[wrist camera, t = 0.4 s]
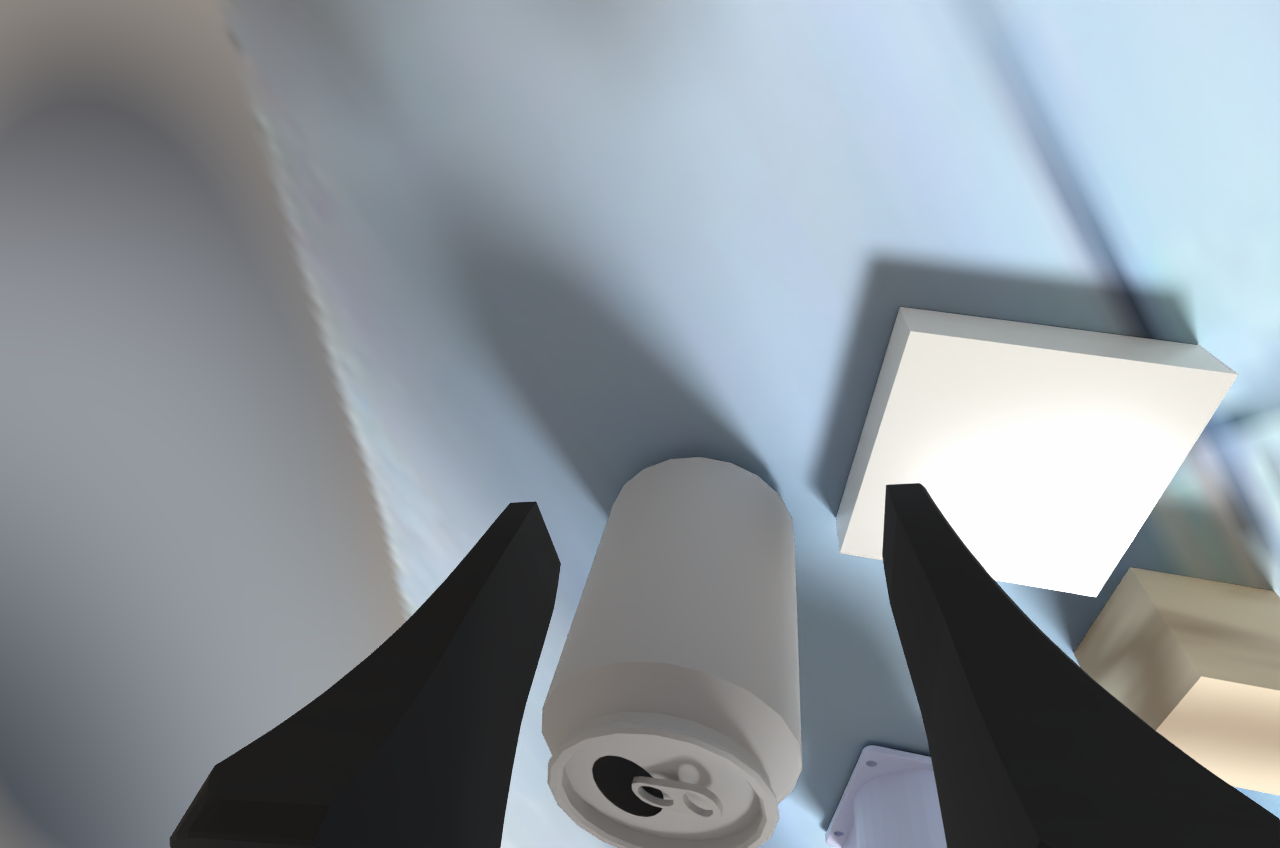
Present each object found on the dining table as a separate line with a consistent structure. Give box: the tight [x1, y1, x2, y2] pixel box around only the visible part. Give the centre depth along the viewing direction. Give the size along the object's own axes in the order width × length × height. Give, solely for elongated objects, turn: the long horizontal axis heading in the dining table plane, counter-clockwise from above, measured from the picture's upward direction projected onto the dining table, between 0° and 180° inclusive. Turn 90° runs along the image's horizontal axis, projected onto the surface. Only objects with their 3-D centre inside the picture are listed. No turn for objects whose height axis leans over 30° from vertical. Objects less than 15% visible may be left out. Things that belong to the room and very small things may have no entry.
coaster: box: [836, 307, 1239, 597], centre depth 22 cm, size 9×9×2 cm
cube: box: [1074, 567, 1280, 796], centre depth 24 cm, size 5×5×5 cm
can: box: [542, 457, 802, 848], centre depth 22 cm, size 8×8×12 cm
